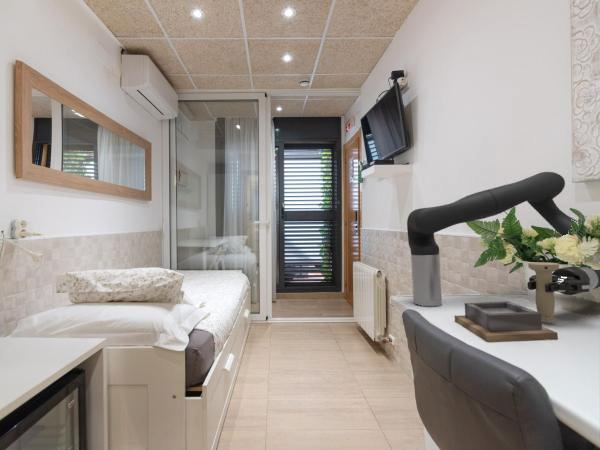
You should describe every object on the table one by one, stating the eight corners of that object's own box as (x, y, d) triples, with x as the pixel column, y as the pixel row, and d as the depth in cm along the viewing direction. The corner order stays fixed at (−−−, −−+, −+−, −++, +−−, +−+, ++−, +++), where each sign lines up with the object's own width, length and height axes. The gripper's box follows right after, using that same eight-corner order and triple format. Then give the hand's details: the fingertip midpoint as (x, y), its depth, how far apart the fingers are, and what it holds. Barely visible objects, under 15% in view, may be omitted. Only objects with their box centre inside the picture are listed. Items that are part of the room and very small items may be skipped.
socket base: (454, 321, 88) (453, 301, 88) (512, 318, 88) (510, 299, 88) (487, 342, 72) (486, 318, 72) (557, 339, 72) (556, 315, 72)
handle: (564, 323, 79) (561, 264, 79) (533, 321, 82) (530, 264, 82) (557, 318, 84) (555, 262, 84) (528, 316, 86) (526, 262, 86)
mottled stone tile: (475, 311, 84) (474, 308, 84) (506, 310, 84) (506, 307, 84) (493, 321, 76) (493, 318, 76) (528, 319, 76) (528, 316, 76)
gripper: (545, 264, 95) (509, 269, 88) (606, 269, 82) (569, 276, 75) (546, 288, 95) (510, 296, 88) (607, 297, 82) (570, 307, 75)
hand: (538, 287), depth 82 cm, fingers closed on handle, 3 cm apart
